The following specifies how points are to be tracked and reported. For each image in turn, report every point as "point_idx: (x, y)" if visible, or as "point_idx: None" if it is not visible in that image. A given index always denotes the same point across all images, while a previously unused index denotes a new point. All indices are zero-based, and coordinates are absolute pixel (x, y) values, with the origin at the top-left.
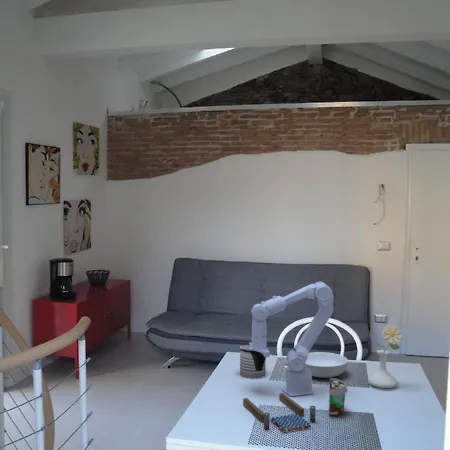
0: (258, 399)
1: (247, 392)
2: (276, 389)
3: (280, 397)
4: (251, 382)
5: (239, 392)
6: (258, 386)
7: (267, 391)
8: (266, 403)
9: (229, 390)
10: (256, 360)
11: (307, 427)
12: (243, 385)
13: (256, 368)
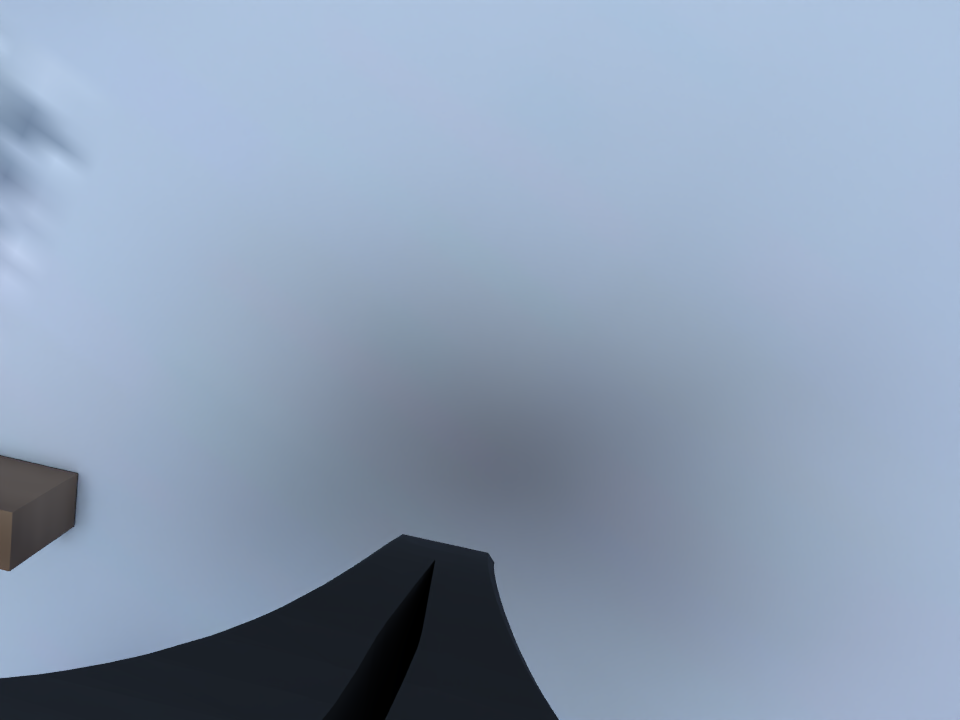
0: (231, 231)
1: (578, 257)
2: None
3: (4, 484)
4: (938, 591)
5: (656, 134)
6: (706, 570)
7: None
8: (46, 241)
9: (851, 22)
10: (164, 650)
11: None
12: (904, 393)
13: (396, 552)
